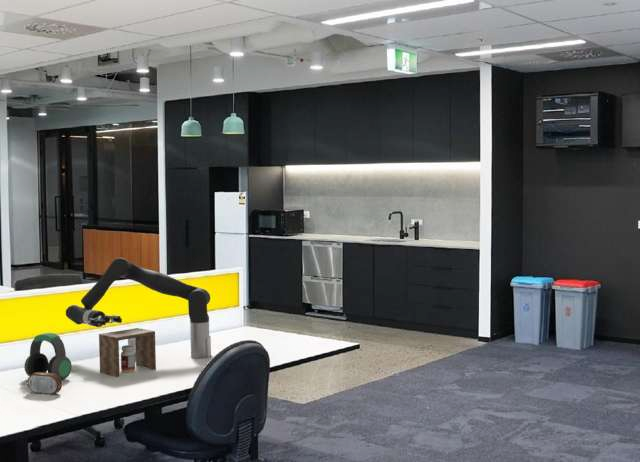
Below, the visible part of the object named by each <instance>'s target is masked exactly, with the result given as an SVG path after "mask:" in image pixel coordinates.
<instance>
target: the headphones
mask: <svg viewBox="0 0 640 462" xmlns="http://www.w3.org/2000/svg"><path fill="white" fill-rule="evenodd" d="M60 337H61V336H59V334H56V333H54V332H46V333H45V332H44V333H41V334H37V335H36V336H34V338H33V340H32V342H31V343H30V348H29V349H30V350H29V356H28V357H26V360H25V361H24V367H23V368H24V371H25V374H26V375H27V376H28V377H29V376H30V375H32V374H34V373H36V372H43V373H54V374H56V375H58V376H59V377H60V379H61V381H64V380H66V379H67V378H68V377H69V376H70V374H71V371H72V362H71V359H70V358H69V357H68V356H67V355H66V349H65V348H66V347H65V344H64V341H63V339H61V338H60ZM44 341H45V342H47V343H49V344H50V345H52V347H53V350H54V354H55V355H54V356H52V357H51V358H50V360H49V359H48V357H47V355H45V354H44V353H41V346H42V343H43V342H44Z"/></svg>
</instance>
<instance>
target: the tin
mask: <svg viewBox="0 0 640 462" xmlns="http://www.w3.org/2000/svg"><path fill="white" fill-rule="evenodd" d="M27 385H28V388H29V391H31V392H32V393H34V394H40V395H41V394H42V395H55V394H58V393H59V392H60V391H61V390H62V387H63V383H62V380H61V379H60V377H59V376H58V375H56V374H54V373H48V372H46V373H43V372H36V373H34V374H32V375H30V376H28V379H27Z"/></svg>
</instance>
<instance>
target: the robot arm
mask: <svg viewBox="0 0 640 462" xmlns="http://www.w3.org/2000/svg"><path fill="white" fill-rule="evenodd" d="M119 278H121V279H126V280H131V281H132V282H133V281H134V282H137V283H138V284H141V285H142V286H144V287H145V288H148V289H150V290H151V291H155V292H157V293H159V294H163V295H167V296H171V297H177V298H181V299H184V300H186V301H187V304H188V305H187V306H188V316H189V324H190V326H189V329H190V331H189V333H190V357H191V358H193V359H204V358H209V357H210V356H212V342H211V341H212V339H211V335H210V317H209V314H208V305H209V304H210V302H211V295H210V292H208V291H207V290H206V289H204V288H202V287H197V286H194V285H191V284H188V283H184V282H183V281H180V280H178V279H176V278H174V277H172V276H169V275H167V274H164V273H162V272H159V271H156V270H151V269H148V268H147V269H146V268H143V267H141V266H139V265H136V264H135V263H133V262H131V261H129V260H128V259H126V258H124V257H117V258H115V259H114V260H113V261H112V262H111V263H110V265H109V266H108V268H107V269H106V270H105V271H104V273H103V275H102V276H101V277H100V278H99V279H98V281H97V282H96V283H95V284H94V286H92V288H90V289H89V290H88V291H87V292H86V293H85V295H84V296H83V297H82V298H81V300H80V302H81V304H82V305H83V306H84V307H82V306H80V305H78V304H73V305H70V306H68V307H67V308H66V310H65V316H66V317H67V318H68V319H69V320H70V321H71V322H73V323H75V324H76V325H82V324H84V325H88V326H92V327H96V328H100V327H102V326H106V324H113V323H117V324H121V323H123V319H122V318H121V315H115V314H112V315H107V314H106V313H105V312H103V311H101V310H95V309H93V308H94V307H95V306H96V305H97V304H98V303H99V302H100V301H101V300H102V299H103V297H104V296H105V295H106V293H107V292H108V290H109V288H110V287H111V285H112V284H114V282H115V281H116V280H118V279H119Z"/></svg>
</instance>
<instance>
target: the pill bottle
mask: <svg viewBox="0 0 640 462" xmlns="http://www.w3.org/2000/svg"><path fill="white" fill-rule="evenodd" d="M132 350H134V347H133V346H132V345H128V344H126V345H122V346H121V353H120V371H121V372H122V373H131V372H135V370H136V357H135V353H134V351H132Z"/></svg>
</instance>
